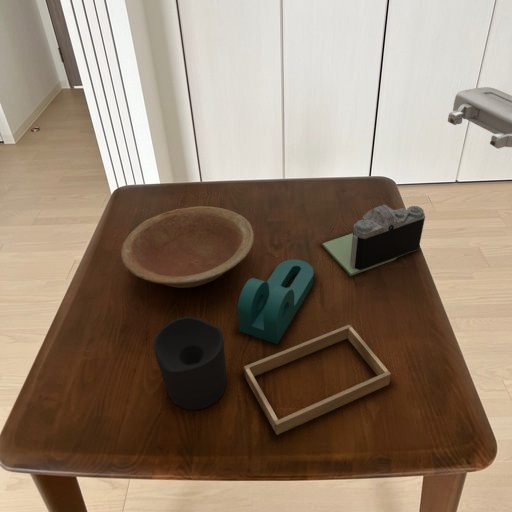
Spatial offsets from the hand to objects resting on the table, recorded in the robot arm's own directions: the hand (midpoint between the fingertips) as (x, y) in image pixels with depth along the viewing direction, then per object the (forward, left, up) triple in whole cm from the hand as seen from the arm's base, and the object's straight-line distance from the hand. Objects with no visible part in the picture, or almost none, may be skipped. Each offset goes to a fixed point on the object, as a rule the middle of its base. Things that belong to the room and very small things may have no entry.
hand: (471, 130), depth 80 cm
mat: (+7, +14, -25) cm, 29 cm away
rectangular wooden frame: (-15, +36, -25) cm, 46 cm away
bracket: (+2, +33, -25) cm, 41 cm away
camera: (+5, +11, -24) cm, 27 cm away
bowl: (+17, +44, -25) cm, 53 cm away
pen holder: (-8, +52, -25) cm, 58 cm away
